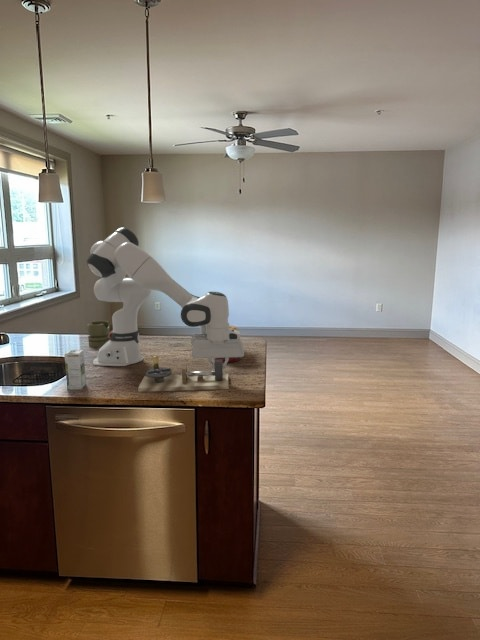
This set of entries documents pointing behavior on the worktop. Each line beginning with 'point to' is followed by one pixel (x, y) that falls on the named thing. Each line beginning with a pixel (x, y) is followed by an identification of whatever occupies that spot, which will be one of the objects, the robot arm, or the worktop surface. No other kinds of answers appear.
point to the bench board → (176, 384)
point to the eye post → (184, 373)
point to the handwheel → (158, 370)
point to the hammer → (217, 373)
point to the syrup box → (75, 369)
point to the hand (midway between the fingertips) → (218, 368)
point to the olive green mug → (98, 333)
